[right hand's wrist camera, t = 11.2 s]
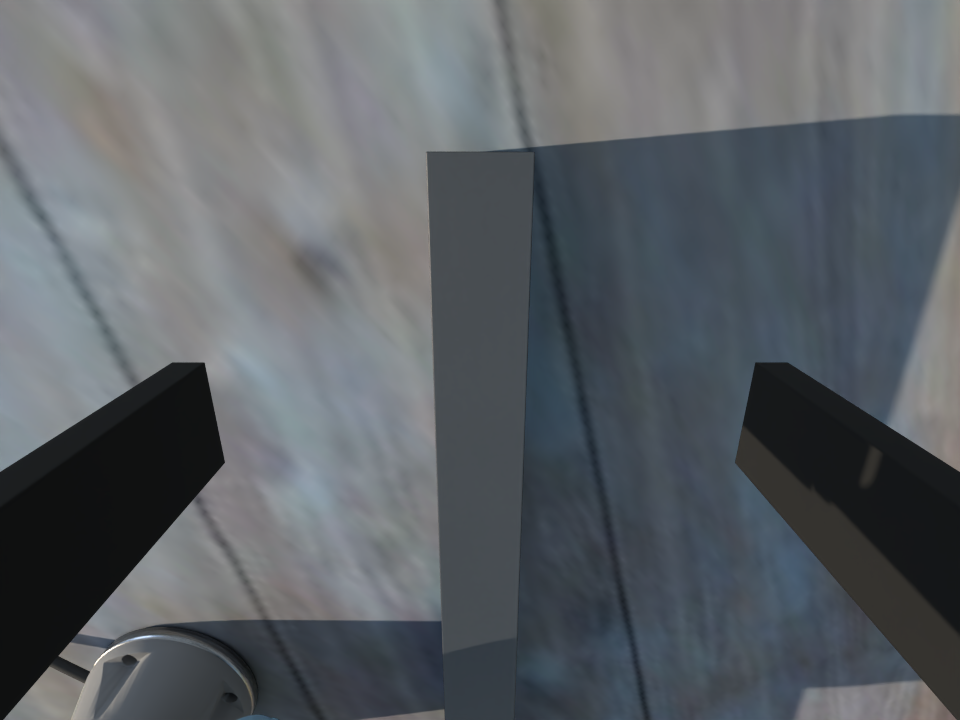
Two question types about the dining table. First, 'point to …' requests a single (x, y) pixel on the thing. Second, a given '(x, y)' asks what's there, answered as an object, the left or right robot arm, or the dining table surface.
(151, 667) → the left robot arm
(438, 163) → the bar
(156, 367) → the dining table surface
